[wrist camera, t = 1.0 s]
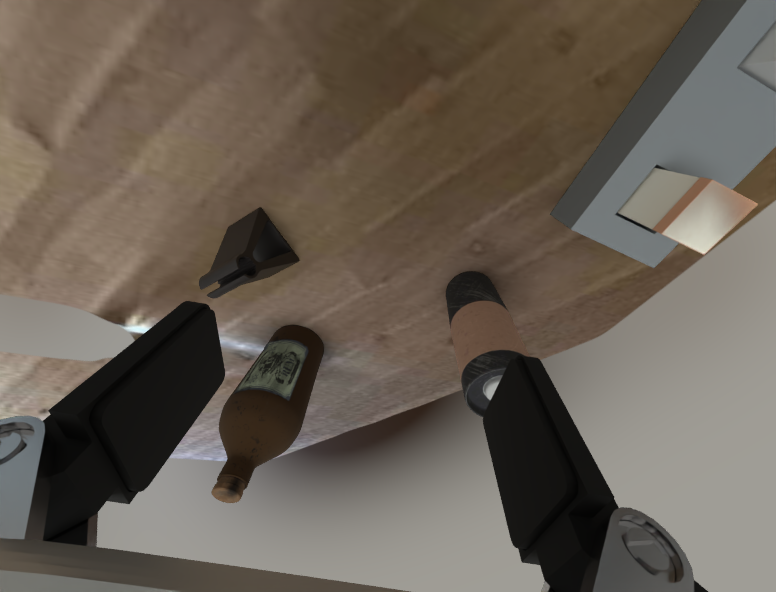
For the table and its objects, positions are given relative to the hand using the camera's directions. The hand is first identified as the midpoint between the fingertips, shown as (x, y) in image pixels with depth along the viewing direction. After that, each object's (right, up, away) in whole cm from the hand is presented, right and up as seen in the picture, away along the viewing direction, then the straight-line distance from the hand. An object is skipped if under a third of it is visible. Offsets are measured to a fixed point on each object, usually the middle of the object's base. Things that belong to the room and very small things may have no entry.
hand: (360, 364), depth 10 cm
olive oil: (-15, -7, +45) cm, 48 cm away
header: (+33, +21, +24) cm, 46 cm away
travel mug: (+13, +3, +37) cm, 39 cm away
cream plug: (+30, +15, +28) cm, 44 cm away
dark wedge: (-17, +10, +35) cm, 40 cm away
